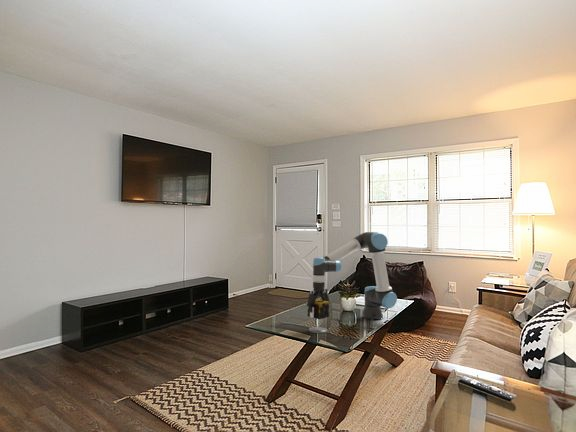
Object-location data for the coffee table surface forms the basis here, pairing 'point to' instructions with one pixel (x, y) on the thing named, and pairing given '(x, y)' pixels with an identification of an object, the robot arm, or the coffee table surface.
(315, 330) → the coaster
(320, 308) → the candle
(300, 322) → the coffee table surface
